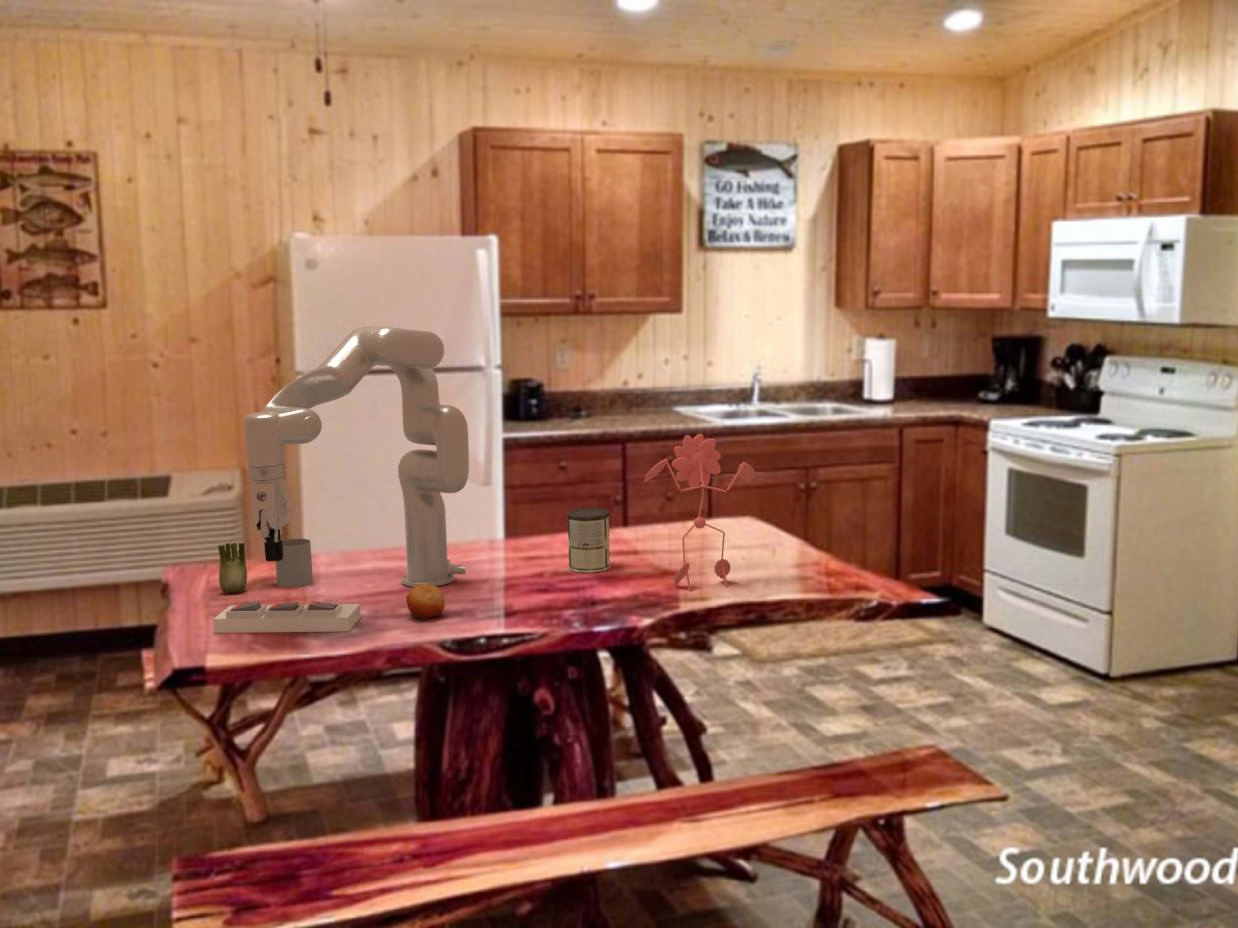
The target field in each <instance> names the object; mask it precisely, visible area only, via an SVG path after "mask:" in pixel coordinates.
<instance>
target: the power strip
mask: <svg viewBox="0 0 1238 928" xmlns="http://www.w3.org/2000/svg"><path fill="white" fill-rule="evenodd" d="M336 604H337V606H336V608H335V609H334V610H308V607H309V604H300V603H298V606H299V607H298V608H297V609H296V610H292V611H270V608H271V607H272V606H273V605H274V604H270V605H269V604H260V606H261V607H260V608H259V609H258V610H257V611H231V610H232V609H233V608H234V607H235V606H237V604H234V605H228V606H227V607H226V609H224V610H222V611H221V612H220V613H219V614H218V615H216V616H215V617H214V618H213V632H214V634H240V633H243V634H245V633H247V634H248V633H251V634H253V633H255V634H256V633H318V632H319V633H321V632H322V633H324V632H326V633H327V632H328V633H332V632H333V633H334V632H336V633H337V632H338V633H339V632H340V633H341V632H350V631H351V630H352V629H353V628H354V626H355V625H356V624H357V623H358V622H359V620H360V619H361V616H362V615H361V614H362V613H361V604H360V603H345V604H344V603H343V604H342V603H336ZM355 623H356V624H355Z"/></svg>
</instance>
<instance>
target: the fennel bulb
mask: <svg viewBox="0 0 1238 928" xmlns="http://www.w3.org/2000/svg"><path fill="white" fill-rule="evenodd" d="M217 547H218V554H219V570H218V571H219V573H218V582H219V587H220V590H221V591H222V592H223V593H225V594H237V593H241V592H243V591H245V589H246V587H247V583H248V582H247V581H248V570H247V569H248V568H247V563H246V552H245V550H246V549H245V542H244V541H243V542H239V543H238V547H237V542H231V543H230V542H226V543H225V544H224V543H223V544H222V543H221V544H218V545H217Z"/></svg>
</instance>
